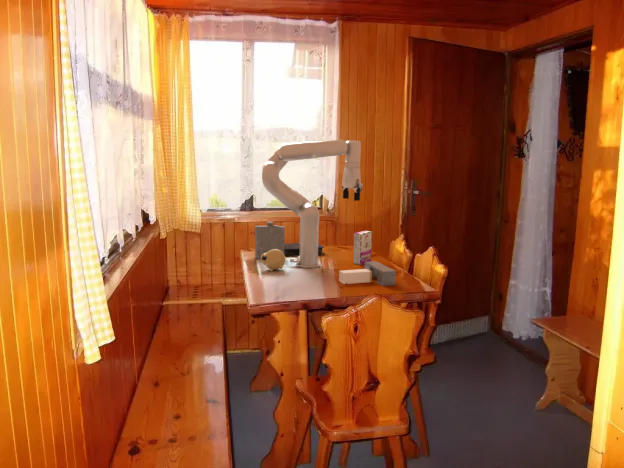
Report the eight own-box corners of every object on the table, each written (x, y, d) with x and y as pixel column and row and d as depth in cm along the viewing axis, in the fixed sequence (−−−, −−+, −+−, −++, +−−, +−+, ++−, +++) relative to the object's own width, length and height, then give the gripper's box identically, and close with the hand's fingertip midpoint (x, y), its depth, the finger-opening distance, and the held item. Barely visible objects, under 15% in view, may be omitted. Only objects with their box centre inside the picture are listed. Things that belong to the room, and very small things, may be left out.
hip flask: (254, 258, 275) (254, 222, 271) (255, 256, 279) (255, 220, 275) (284, 259, 275) (284, 222, 271) (284, 257, 279) (284, 221, 275)
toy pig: (262, 267, 255) (262, 246, 253) (286, 268, 255) (286, 247, 253) (259, 272, 245) (259, 250, 243) (284, 272, 245) (284, 251, 243)
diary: (275, 251, 298) (275, 242, 298) (316, 250, 304) (316, 241, 304) (281, 257, 280) (281, 248, 280) (324, 256, 286) (324, 247, 286)
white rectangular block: (343, 284, 227) (343, 273, 226) (338, 281, 232) (339, 270, 231) (371, 282, 232) (372, 271, 231) (366, 279, 236) (367, 268, 235)
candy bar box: (363, 260, 276) (364, 230, 273) (371, 261, 273) (372, 231, 271) (352, 263, 267) (353, 232, 265) (360, 265, 265) (361, 234, 262)
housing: (382, 285, 225) (383, 271, 224) (364, 275, 244) (364, 261, 243) (395, 285, 227) (395, 270, 226) (375, 274, 246) (376, 261, 245)
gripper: (336, 164, 260) (335, 198, 263) (356, 166, 245) (355, 201, 248) (348, 164, 264) (347, 197, 267) (369, 166, 249) (367, 201, 252)
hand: (351, 199), depth 258 cm, fingers open, 9 cm apart
